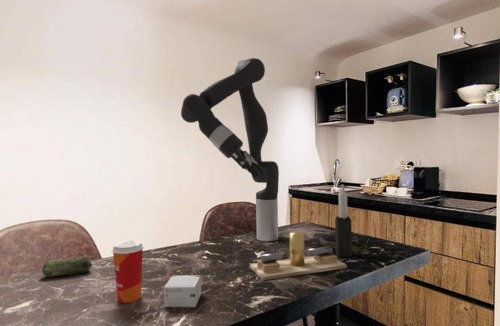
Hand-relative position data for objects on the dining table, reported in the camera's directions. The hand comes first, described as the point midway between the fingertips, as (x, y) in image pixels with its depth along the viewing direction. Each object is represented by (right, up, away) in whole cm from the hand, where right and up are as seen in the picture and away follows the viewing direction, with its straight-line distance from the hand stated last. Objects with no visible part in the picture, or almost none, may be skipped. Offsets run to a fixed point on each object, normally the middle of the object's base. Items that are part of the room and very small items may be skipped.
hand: (260, 174), depth 108 cm
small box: (-20, -31, -26) cm, 45 cm away
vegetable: (-60, -31, -6) cm, 68 cm away
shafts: (+12, -26, -4) cm, 29 cm away
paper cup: (-34, -31, -25) cm, 52 cm away
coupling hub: (+12, -28, -4) cm, 31 cm away
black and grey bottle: (+30, -29, +8) cm, 42 cm away
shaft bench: (+12, -29, -4) cm, 32 cm away
